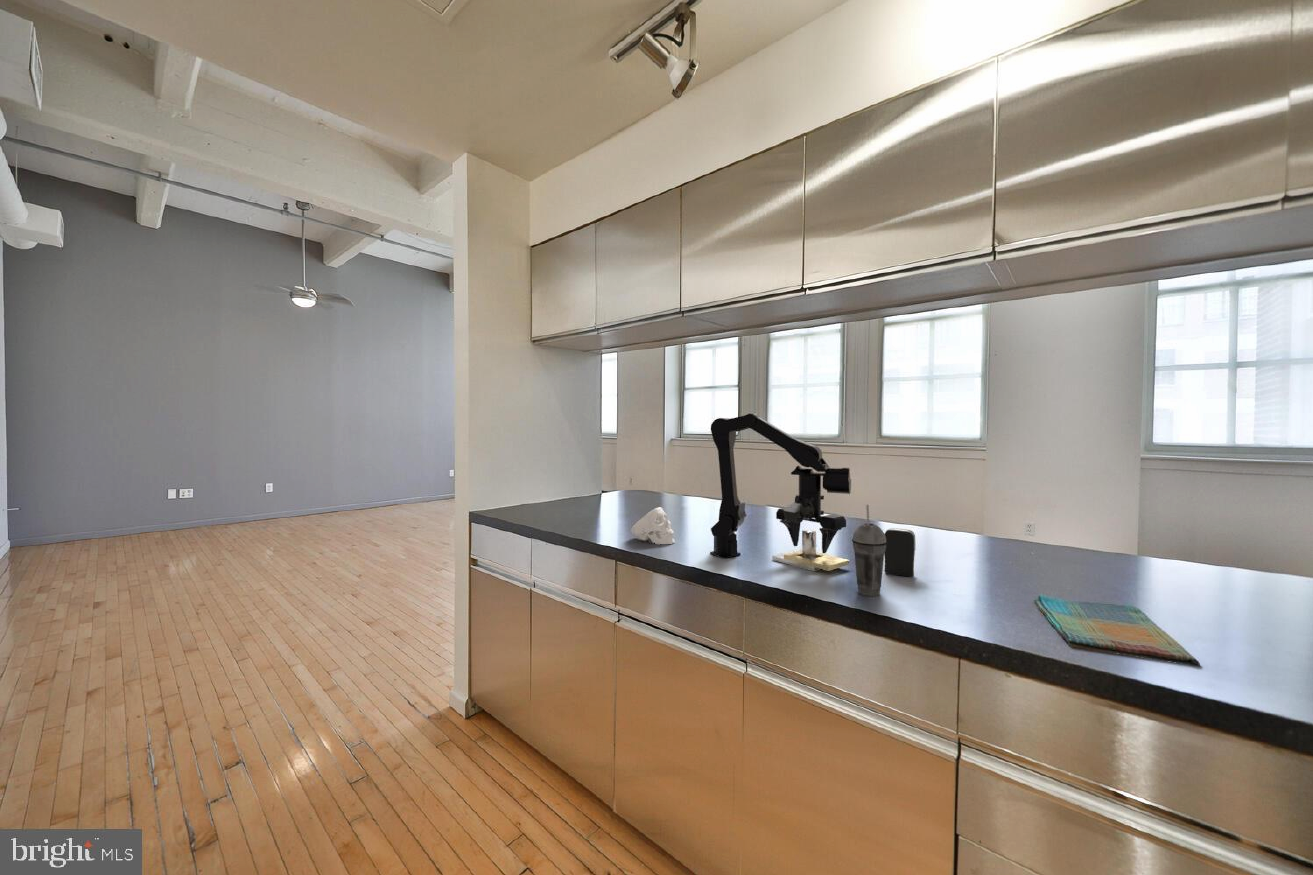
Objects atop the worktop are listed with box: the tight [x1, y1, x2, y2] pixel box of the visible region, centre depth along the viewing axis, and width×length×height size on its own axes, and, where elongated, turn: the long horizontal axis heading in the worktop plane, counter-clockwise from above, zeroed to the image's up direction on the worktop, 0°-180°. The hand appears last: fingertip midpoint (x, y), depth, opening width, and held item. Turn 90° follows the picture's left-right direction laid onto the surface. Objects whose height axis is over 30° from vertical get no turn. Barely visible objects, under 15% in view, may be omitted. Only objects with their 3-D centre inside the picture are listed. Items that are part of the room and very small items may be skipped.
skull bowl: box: [630, 506, 676, 545], centre depth 163 cm, size 10×14×12 cm
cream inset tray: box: [771, 549, 850, 573], centre depth 135 cm, size 18×9×2 cm, turn 36°
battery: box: [883, 527, 916, 578], centre depth 126 cm, size 7×4×11 cm, turn 55°
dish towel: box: [1033, 594, 1201, 667], centre depth 92 cm, size 17×23×2 cm
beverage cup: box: [851, 504, 887, 597], centre depth 112 cm, size 7×7×20 cm
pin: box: [801, 529, 817, 559], centre depth 135 cm, size 4×4×9 cm
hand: (809, 549), depth 135 cm, fingers open, 9 cm apart
